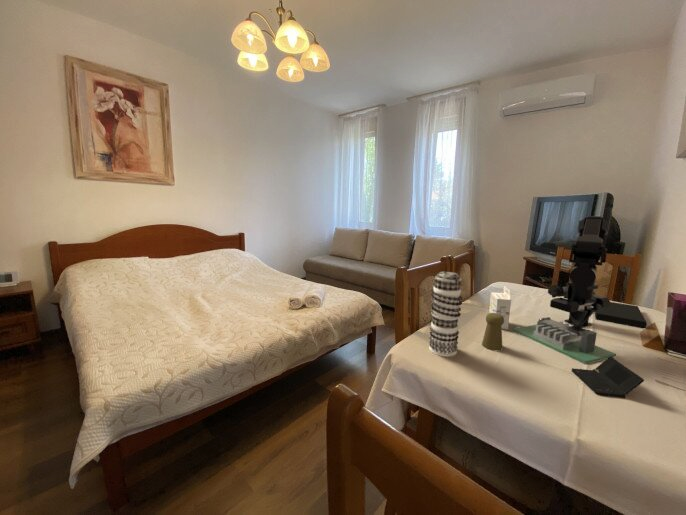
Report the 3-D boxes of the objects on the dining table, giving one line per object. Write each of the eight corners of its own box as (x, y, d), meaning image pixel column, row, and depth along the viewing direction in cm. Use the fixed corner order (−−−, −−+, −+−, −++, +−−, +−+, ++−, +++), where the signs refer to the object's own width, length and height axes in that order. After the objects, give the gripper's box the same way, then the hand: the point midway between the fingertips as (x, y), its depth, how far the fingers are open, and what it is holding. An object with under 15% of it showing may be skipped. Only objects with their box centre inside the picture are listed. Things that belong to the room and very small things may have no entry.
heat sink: (552, 329, 105) (554, 313, 104) (602, 349, 91) (605, 331, 90) (527, 333, 102) (529, 317, 100) (575, 355, 87) (578, 336, 86)
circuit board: (540, 325, 110) (541, 323, 110) (616, 356, 88) (616, 353, 88) (513, 330, 106) (513, 328, 106) (584, 364, 84) (585, 361, 84)
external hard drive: (595, 320, 117) (596, 313, 116) (593, 305, 135) (594, 299, 134) (645, 329, 108) (646, 322, 108) (636, 312, 126) (638, 306, 125)
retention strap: (547, 319, 103) (548, 315, 103) (586, 334, 91) (587, 329, 91) (538, 320, 102) (539, 316, 101) (576, 336, 90) (577, 331, 90)
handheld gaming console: (564, 365, 80) (594, 341, 77) (581, 379, 81) (611, 356, 79) (597, 398, 69) (634, 371, 66) (616, 412, 70) (653, 387, 68)
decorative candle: (421, 346, 94) (425, 271, 90) (443, 341, 98) (448, 269, 93) (441, 359, 86) (447, 278, 81) (464, 353, 89) (471, 275, 85)
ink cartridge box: (487, 319, 116) (491, 284, 113) (500, 321, 115) (504, 285, 112) (494, 328, 108) (497, 290, 105) (508, 329, 107) (512, 291, 104)
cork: (500, 343, 96) (504, 312, 94) (504, 352, 90) (507, 318, 88) (480, 340, 98) (483, 309, 96) (483, 348, 92) (486, 316, 90)
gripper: (575, 273, 100) (569, 316, 102) (536, 277, 94) (531, 323, 96) (614, 280, 89) (607, 328, 92) (572, 285, 83) (566, 336, 86)
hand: (576, 328), depth 92 cm, fingers closed, pressing on retention strap
